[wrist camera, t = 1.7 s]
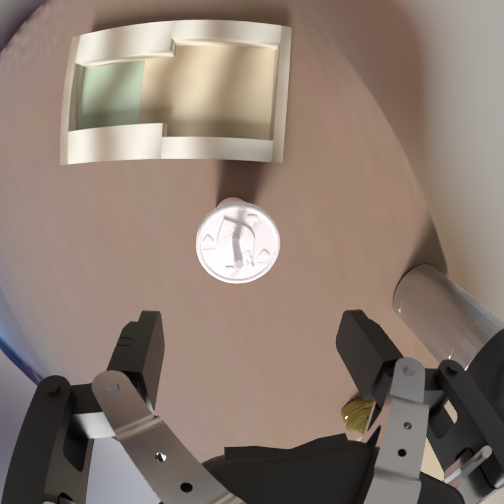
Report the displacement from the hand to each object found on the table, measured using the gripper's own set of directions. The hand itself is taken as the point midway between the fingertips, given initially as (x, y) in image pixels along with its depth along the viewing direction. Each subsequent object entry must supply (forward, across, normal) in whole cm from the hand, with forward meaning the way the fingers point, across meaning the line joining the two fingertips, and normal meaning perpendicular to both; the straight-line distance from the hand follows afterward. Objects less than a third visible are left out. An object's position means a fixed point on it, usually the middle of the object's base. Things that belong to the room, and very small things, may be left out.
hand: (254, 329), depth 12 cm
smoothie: (+20, 0, 0) cm, 20 cm away
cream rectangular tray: (+20, +7, -13) cm, 25 cm away
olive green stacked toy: (+20, -26, +37) cm, 49 cm away
